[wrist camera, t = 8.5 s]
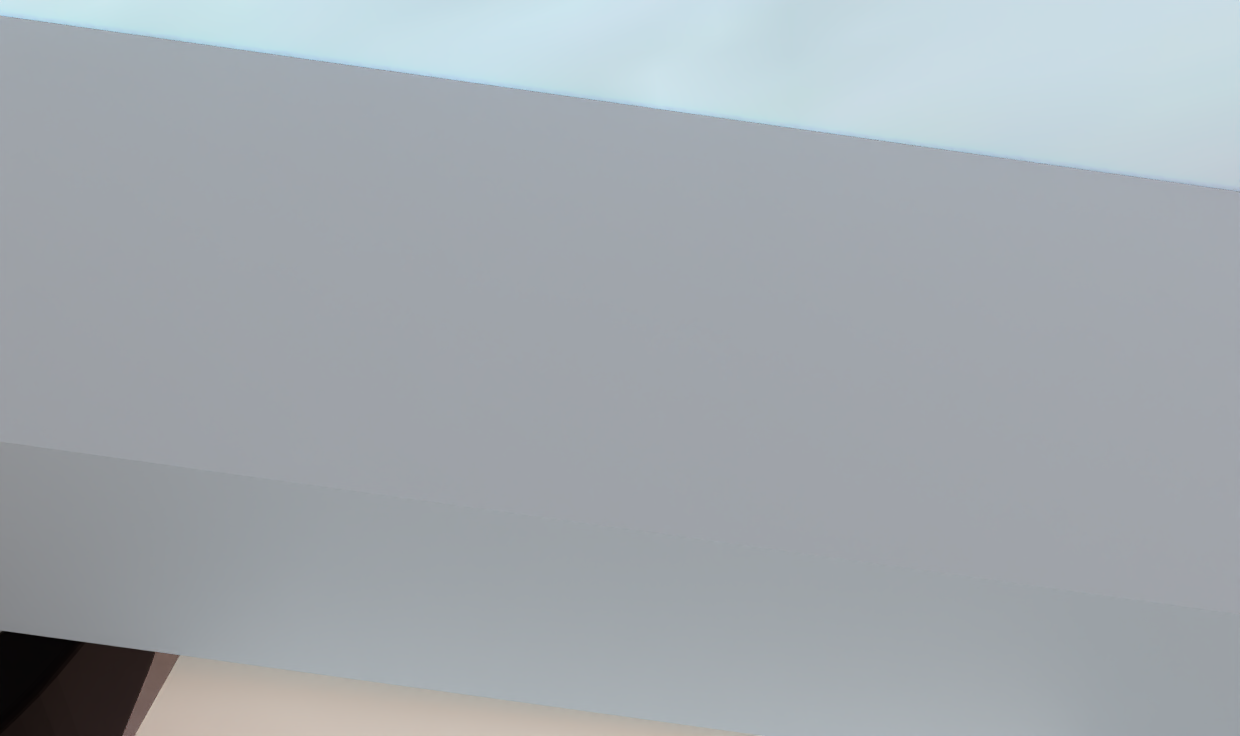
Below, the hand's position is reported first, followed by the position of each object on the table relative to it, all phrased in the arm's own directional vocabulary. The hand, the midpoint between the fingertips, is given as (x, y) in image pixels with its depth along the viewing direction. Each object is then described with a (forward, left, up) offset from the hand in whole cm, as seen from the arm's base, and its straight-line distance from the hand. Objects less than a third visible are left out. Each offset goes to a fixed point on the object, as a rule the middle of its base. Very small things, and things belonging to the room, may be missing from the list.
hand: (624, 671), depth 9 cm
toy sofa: (0, 0, -4) cm, 4 cm away
